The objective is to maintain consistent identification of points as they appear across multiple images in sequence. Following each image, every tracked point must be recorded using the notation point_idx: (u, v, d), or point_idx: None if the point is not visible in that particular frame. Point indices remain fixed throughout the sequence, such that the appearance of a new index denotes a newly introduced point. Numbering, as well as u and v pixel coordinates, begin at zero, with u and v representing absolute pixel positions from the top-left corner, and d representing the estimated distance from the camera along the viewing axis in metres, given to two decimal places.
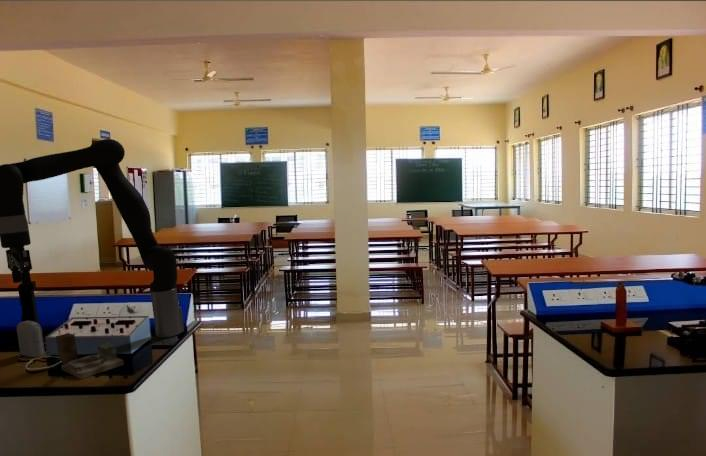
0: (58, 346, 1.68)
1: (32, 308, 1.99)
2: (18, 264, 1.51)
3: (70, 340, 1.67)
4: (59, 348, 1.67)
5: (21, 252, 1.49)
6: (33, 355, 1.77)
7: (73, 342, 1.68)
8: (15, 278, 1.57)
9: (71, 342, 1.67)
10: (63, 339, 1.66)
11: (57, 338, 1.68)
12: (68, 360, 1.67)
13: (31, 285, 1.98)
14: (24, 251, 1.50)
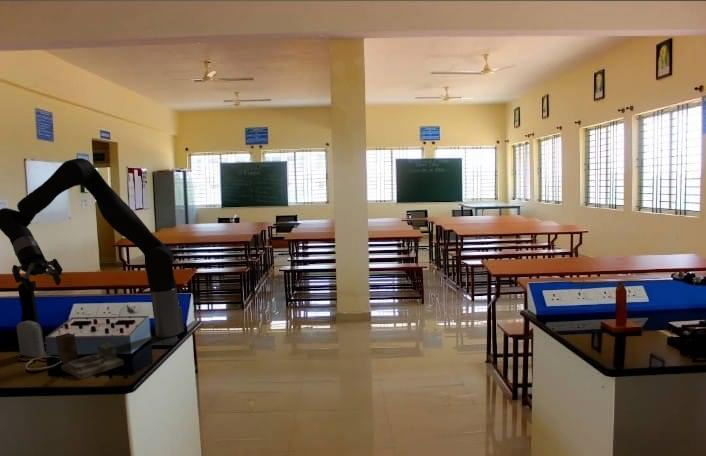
0: (58, 346, 1.68)
1: (32, 308, 1.99)
2: None
3: (70, 340, 1.67)
4: (59, 348, 1.67)
5: (12, 270, 1.73)
6: (33, 355, 1.77)
7: (73, 342, 1.68)
8: (55, 281, 1.77)
9: (71, 342, 1.67)
10: (63, 339, 1.66)
11: (57, 338, 1.68)
12: (68, 360, 1.67)
13: None
14: (12, 268, 1.72)
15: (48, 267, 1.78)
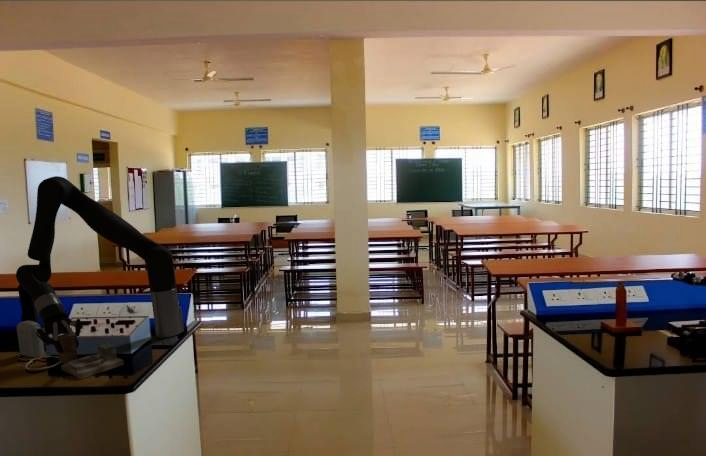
0: None
1: (32, 308, 1.99)
2: (52, 338, 1.69)
3: (70, 339, 1.67)
4: None
5: (36, 334, 1.67)
6: (33, 355, 1.77)
7: (73, 342, 1.68)
8: None
9: (70, 342, 1.67)
10: (63, 339, 1.66)
11: None
12: (68, 360, 1.67)
13: None
14: (36, 332, 1.66)
15: (68, 328, 1.71)
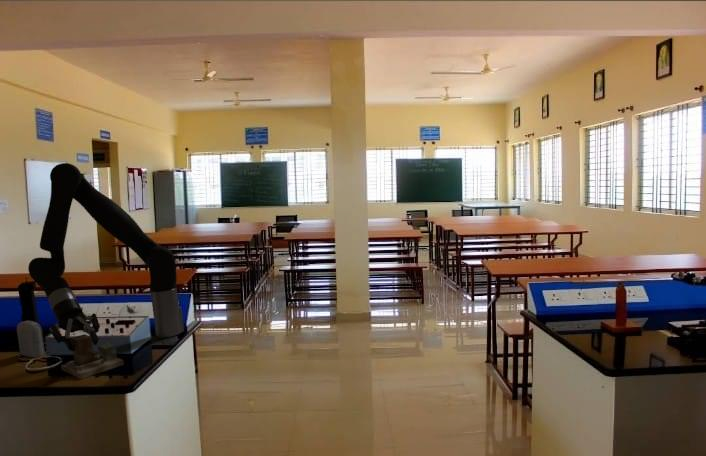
0: None
1: (32, 308, 1.99)
2: None
3: (87, 341, 1.58)
4: (75, 351, 1.58)
5: (49, 329, 1.57)
6: (33, 355, 1.77)
7: (90, 344, 1.58)
8: (92, 341, 1.61)
9: (87, 344, 1.58)
10: (79, 341, 1.56)
11: (73, 340, 1.58)
12: (85, 363, 1.57)
13: (31, 285, 1.98)
14: None
15: (85, 324, 1.62)
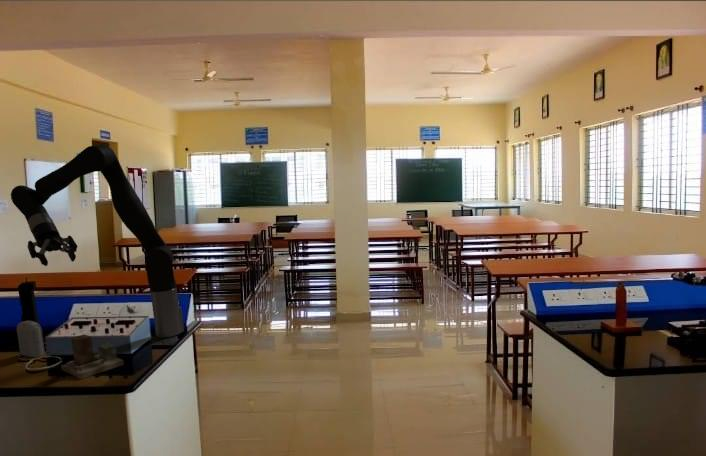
0: (74, 348, 1.58)
1: (32, 308, 1.99)
2: None
3: (87, 341, 1.58)
4: (75, 351, 1.58)
5: (27, 246, 1.73)
6: (33, 355, 1.77)
7: (90, 344, 1.58)
8: (70, 258, 1.77)
9: (87, 344, 1.58)
10: (79, 341, 1.56)
11: (73, 340, 1.58)
12: (85, 363, 1.57)
13: (31, 285, 1.98)
14: None
15: (63, 243, 1.77)
